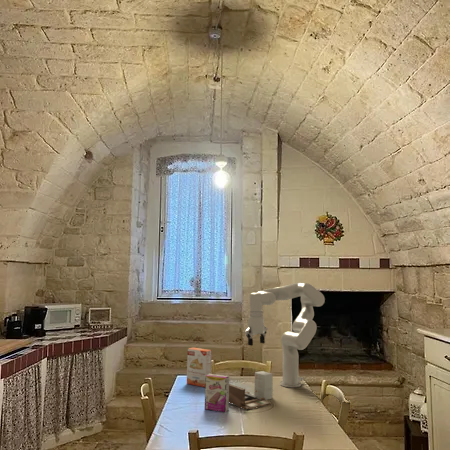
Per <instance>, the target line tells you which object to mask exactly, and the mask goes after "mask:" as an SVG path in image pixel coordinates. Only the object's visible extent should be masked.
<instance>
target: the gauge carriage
mask: <svg viewBox="0 0 450 450" xmlns="http://www.w3.org/2000/svg"><path fill="white" fill-rule="evenodd" d="M246 392H247V391H245V401H246V400H254V399H257V400H260V401H262V400H261V399H258V398H257V396H255V394H254V395H253V394H252V393H251V394H250V393H249V394H248V393H246Z"/></svg>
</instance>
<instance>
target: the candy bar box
mask: <svg viewBox="0 0 450 450" xmlns="http://www.w3.org/2000/svg"><path fill="white" fill-rule="evenodd" d="M229 384H230V375H224V374H216V373H211V374H208V375H206V380H205V387H204V393H205V394H204V410H206V411H207V410H208V411H212V412H213V411H214V412H222V413H227V411H229V408H230V407H229V406H230V405H229V404H230V403H229Z"/></svg>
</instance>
